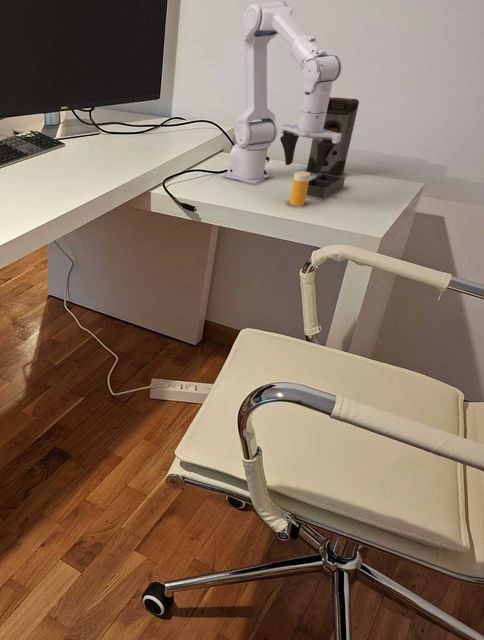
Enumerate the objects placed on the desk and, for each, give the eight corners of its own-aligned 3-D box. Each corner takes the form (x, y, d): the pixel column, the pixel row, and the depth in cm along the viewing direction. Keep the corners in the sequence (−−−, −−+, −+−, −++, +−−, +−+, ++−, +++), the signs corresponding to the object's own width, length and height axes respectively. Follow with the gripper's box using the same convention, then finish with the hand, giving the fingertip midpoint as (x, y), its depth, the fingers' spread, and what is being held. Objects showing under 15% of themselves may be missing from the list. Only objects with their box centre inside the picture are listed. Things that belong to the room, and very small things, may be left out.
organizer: (299, 194, 175) (302, 184, 173) (320, 183, 181) (322, 173, 180) (322, 200, 171) (324, 189, 169) (342, 188, 177) (345, 177, 176)
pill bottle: (286, 204, 169) (291, 173, 165) (293, 200, 172) (299, 170, 167) (300, 207, 167) (306, 176, 163) (307, 203, 169) (313, 173, 165)
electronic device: (304, 174, 188) (318, 101, 177) (309, 168, 192) (323, 96, 181) (340, 178, 184) (356, 103, 173) (344, 172, 188) (360, 98, 177)
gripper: (277, 109, 160) (267, 165, 168) (335, 118, 151) (323, 177, 159) (291, 104, 164) (282, 158, 172) (349, 112, 155) (337, 169, 163)
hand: (303, 167), depth 165 cm, fingers open, 7 cm apart
